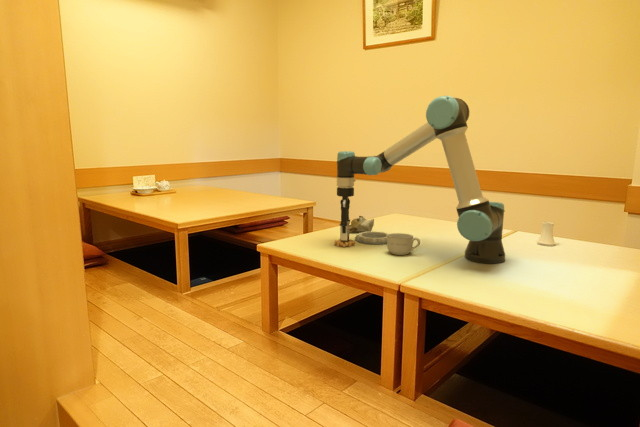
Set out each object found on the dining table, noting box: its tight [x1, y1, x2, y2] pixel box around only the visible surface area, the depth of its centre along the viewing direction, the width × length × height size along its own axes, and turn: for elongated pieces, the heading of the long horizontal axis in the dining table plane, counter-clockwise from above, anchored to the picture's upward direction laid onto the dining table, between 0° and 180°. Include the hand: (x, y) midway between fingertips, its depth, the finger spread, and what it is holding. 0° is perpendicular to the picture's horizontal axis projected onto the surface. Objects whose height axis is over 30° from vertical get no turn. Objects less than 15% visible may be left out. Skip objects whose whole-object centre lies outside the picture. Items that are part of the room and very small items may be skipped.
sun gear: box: [334, 221, 356, 248], centre depth 195 cm, size 9×9×10 cm
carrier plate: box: [354, 230, 389, 246], centre depth 205 cm, size 18×18×2 cm
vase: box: [536, 221, 556, 247], centre depth 197 cm, size 8×8×10 cm
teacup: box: [386, 232, 421, 256], centre depth 180 cm, size 14×11×8 cm
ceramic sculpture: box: [349, 215, 375, 233], centre depth 221 cm, size 11×9×15 cm
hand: (344, 237), depth 195 cm, fingers open, 7 cm apart
